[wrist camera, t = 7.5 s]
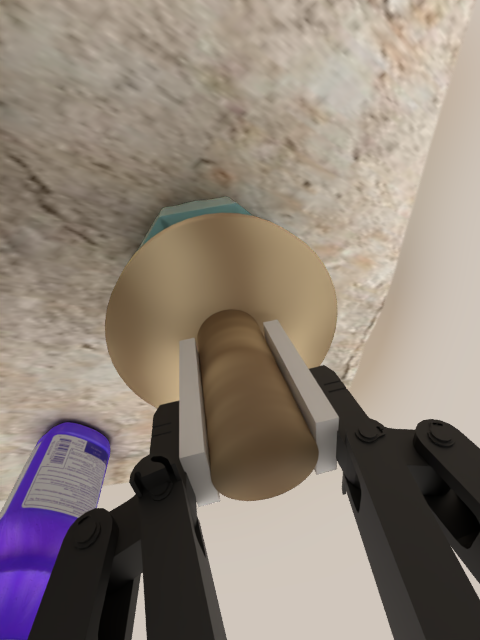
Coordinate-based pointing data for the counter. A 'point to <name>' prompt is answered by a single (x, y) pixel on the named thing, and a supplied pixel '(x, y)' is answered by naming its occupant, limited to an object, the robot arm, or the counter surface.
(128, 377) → the lid
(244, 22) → the counter surface
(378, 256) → the counter surface
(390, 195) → the counter surface
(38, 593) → the bottle
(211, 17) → the counter surface
